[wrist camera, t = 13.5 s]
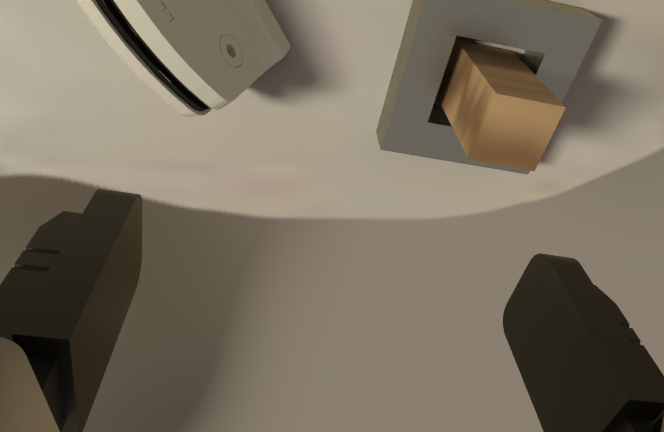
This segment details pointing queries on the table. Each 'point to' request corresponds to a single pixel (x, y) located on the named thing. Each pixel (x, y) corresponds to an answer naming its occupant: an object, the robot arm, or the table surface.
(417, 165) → the table surface
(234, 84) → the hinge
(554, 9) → the collar
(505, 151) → the wooden square peg
